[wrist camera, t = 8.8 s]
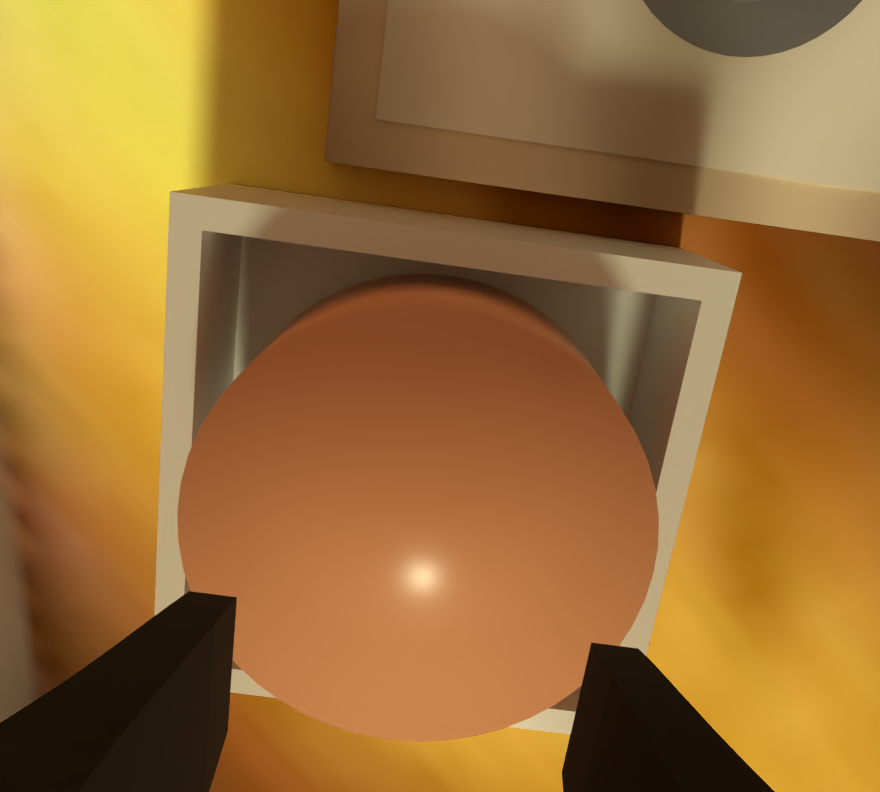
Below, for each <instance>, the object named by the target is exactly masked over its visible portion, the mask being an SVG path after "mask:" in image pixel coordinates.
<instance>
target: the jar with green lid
mask: <svg viewBox="0 0 880 792" xmlns="http://www.w3.org/2000/svg"><path fill="white" fill-rule="evenodd" d="M727 1H732V2H741V3H751V2H760V1H765V0H727Z"/></svg>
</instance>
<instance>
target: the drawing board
mask: <svg viewBox="0 0 880 792" xmlns="http://www.w3.org/2000/svg"><path fill="white" fill-rule="evenodd" d="M325 162H332V163H339V164H346V165H353V166H360V167H367V168H374V169H381V170H388V171H394V172H401V173H408V174H415V175H422V176H429V177H436V178H443V179H450V180H457V181H464V182H471V183H478V184H485V185H492V186H499V187H505V188H512V189H519V190H526V191H533V192H540V193H547V194H554V195H561V196H568V197H575V198H582V199H589V200H596V201H603V202H610V203H617V204H623V205H630V206H637V207H644V208H651V209H658V210H665V211H672V212H679V213H686V214H693V215H700V216H707V217H714V218H721V219H728V220H734V221H741V222H748V223H755V224H762V225H769V226H776V227H783V228H790V229H797V230H804V231H811V232H818V233H825V234H832V235H839V236H845V237H852V238H859V239H866V240H873V241H880V0H765V1H760V2H751V3H741V2H732V1H727V0H339V8H338V19H337V30H336V41H335V52H334V63H333V74H332V85H331V96H330V107H329V118H328V129H327V140H326V151H325Z"/></svg>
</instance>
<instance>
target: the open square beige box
mask: <svg viewBox="0 0 880 792" xmlns="http://www.w3.org/2000/svg"><path fill="white" fill-rule="evenodd" d="M407 274H437V275H450V276H456V277H460V278H465V279H470V280H475V281H479V282H482V283H485V284H487V285H490V286H493V287H496V288H499V289H502V290H504V291H506V292H508V293H510V294H512V295H514V296H516V297H518V298H520V299H522V300H524V301H526V302H528V303H529V304H530V305H532V306H533V307H535V308H536V309H538V310H539V311H541V312H542V313H544V314H545V315H546V316H548V317H549V318H550V319H551V320H553V321H554V322H555V323H556V324H557V325H558V326H559V327H560V328H561V329H562V330H563V331H565V332H566V333H567V334H568V335H569V336H570V338H571V339H572V340H573V341H574V342H575V344H576V345H577V346H578V347H579V348H580V350H581V351H582V352H583V353H584V354H585V356H586V357H587V359H588V360H589V362H590V363H591V365H592V366H593V368H594V369H595V371H596V372H597V374H598V375H599V377H600V378H601V380H602V381H603V383H604V384H605V386H606V387H607V389H608V390H609V391H610V393H611V394H612V396H613V397H614V399H615V400H616V402H617V403H618V405H619V406H620V408H621V410H622V411H623V413H624V414H625V416H626V418H627V419H628V421H629V422H630V424H631V426H632V427H633V429H634V431H635V432H636V435H637V437H638V439H639V441H640V444H641V446H642V448H643V451H644V453H645V455H646V457H647V460H648V463H649V467H650V471H651V474H652V478H653V482H654V485H655V490H656V498H657V506H658V514H659V531H658V549H657V555H656V561H655V567H654V573H653V576H652V579H651V583H650V586H649V589H648V592H647V595H646V598H645V601H644V603H643V605H642V607H641V609H640V611H639V613H638V615H637V618H636V620H635V622H634V624H633V626H632V627H631V629H630V630H629V632H628V633H627V635H626V636H625V638H624V639H623V641H622V642H621V644H620V645H619V646H623V647H631V648H638V649H639V650H640V651H641V652H642V653H643V654H644V655H645V656H646V653H647V649H648V645H649V641H650V637H651V633H652V629H653V626H654V622H655V618H656V614H657V610H658V606H659V602H660V598H661V594H662V590H663V586H664V582H665V578H666V574H667V570H668V566H669V562H670V558H671V554H672V550H673V546H674V542H675V538H676V534H677V530H678V526H679V522H680V518H681V514H682V510H683V506H684V502H685V498H686V494H687V490H688V486H689V482H690V478H691V474H692V470H693V466H694V462H695V458H696V454H697V450H698V446H699V442H700V438H701V435H702V431H703V427H704V423H705V419H706V415H707V411H708V407H709V403H710V399H711V395H712V391H713V387H714V383H715V379H716V375H717V371H718V367H719V363H720V359H721V355H722V351H723V347H724V343H725V339H726V335H727V331H728V327H729V323H730V319H731V315H732V311H733V307H734V303H735V299H736V295H737V291H738V287H739V283H740V279H741V275H742V273H741V272H739V271H736V270H734V269H731V268H729V267H726V266H724V265H721V264H719V263H716V262H714V261H711V260H709V259H706V258H704V257H701V256H699V255H696V254H694V253H692V252H689V251H687V250H684V249H682V248H677V247H670V246H663V245H656V244H649V243H642V242H635V241H628V240H621V239H614V238H607V237H600V236H593V235H586V234H579V233H572V232H565V231H558V230H551V229H544V228H537V227H530V226H523V225H516V224H509V223H502V222H495V221H488V220H481V219H474V218H467V217H460V216H453V215H446V214H439V213H432V212H425V211H418V210H411V209H404V208H397V207H390V206H383V205H376V204H369V203H362V202H355V201H348V200H341V199H334V198H327V197H320V196H313V195H306V194H299V193H292V192H285V191H278V190H271V189H264V188H257V187H250V186H243V185H236V184H224V185H216V186H209V187H201V188H194V189H186V190H178V191H171V192H170V204H169V232H168V259H167V287H166V315H165V342H164V370H163V397H162V425H161V452H160V480H159V508H158V535H157V563H156V590H155V615H157V614H158V613H159V612H161V611H162V610H163V609H165V608H166V607H168V606H169V605H170V604H172V603H173V602H175V601H176V600H177V599H179V598H180V597H182V596H183V595H184V594H186V593H187V592H189V591H190V588H189V585H188V582H187V579H186V576H185V573H184V570H183V566H182V560H181V554H180V548H179V542H178V519H177V510H178V501H179V493H180V484H181V480H182V476H183V472H184V469H185V465H186V461H187V458H188V454H189V452H190V450H191V447H192V445H193V443H194V440H195V438H196V436H197V434H198V431H199V429H200V427H201V425H202V424H203V422H204V420H205V419H206V417H207V416H208V414H209V412H210V411H211V409H212V408H213V406H214V404H215V403H216V401H217V400H218V399H219V398H220V397H221V395H222V394H223V393H224V392H225V391H226V389H227V388H228V387H229V386H230V385H231V384H232V382H233V381H234V380H235V379H236V378H237V377H238V376H239V374H240V373H241V372H242V371H243V370H244V369H245V368H246V367H247V366H248V365H249V364H250V363H251V362H252V361H253V360H254V359H255V358H256V357H257V356H258V355H259V354H260V353H261V352H262V350H263V349H264V348H265V347H266V346H267V345H268V344H269V343H270V342H271V341H272V340H273V339H274V338H275V337H276V336H277V335H278V334H279V333H280V332H281V331H282V330H283V329H284V328H285V327H286V326H287V325H289V324H290V323H291V322H292V321H293V320H294V319H295V318H296V317H298V316H299V315H300V314H301V313H303V312H304V311H306V310H307V309H309V308H310V307H312V306H313V305H315V304H316V303H318V302H319V301H321V300H323V299H325V298H327V297H329V296H331V295H333V294H335V293H337V292H339V291H341V290H343V289H345V288H348V287H351V286H354V285H357V284H360V283H363V282H366V281H369V280H374V279H379V278H384V277H389V276H395V275H407ZM580 691H581V686H580V687H579V688H578V689H577V690H575V691H574V692H573V693H571V694H570V695H568V696H567V697H565V698H564V699H562V700H561V701H560V702H558V703H557V704H555V705H554V706H552V707H550V708H548V709H546V710H544V711H542V712H540V713H539V714H537V715H535V716H533V717H531V718H529V719H526V720H524V721H521V722H519V723H516V724H514V725H511V726H509V727H515V728H523V729H531V730H539V731H547V732H555V733H563V734H571V730H572V726H573V721H574V717H575V713H576V708H577V704H578V699H579V695H580ZM230 692H233V693H241V694H249V695H257V696H265V697H273V698H276V697H275V696H273V695H272V694H271V693H269V692H268V691H266V690H265V689H264V688H262V687H261V686H260V685H258V684H257V683H256V682H255V681H254V680H253V679H252V678H251V677H249V676H248V675H247V674H246V673H245V672H244V671H243V670H242V669H241V668H240V667H239V666H238V665H237V664H236V663H235V662H234V661H233V660H232V674H231V689H230Z"/></svg>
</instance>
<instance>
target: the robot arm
mask: <svg viewBox="0 0 880 792" xmlns="http://www.w3.org/2000/svg"><path fill="white" fill-rule="evenodd" d="M236 604H237V597H231V596H223V595H215V594H208V593H200V592H192V591H189V592H187V593H186V594H184V595H183V596H182V597H180V598H179V599H177V600H176V601H175V602H173V603H172V604H170V605H169V606H168V607H166V608H165V609H163V610H162V611H161V612H159V613H158V614H157V615H155V616H154V617H153V618H151V619H150V620H149V621H147V622H146V623H145V624H143V625H142V626H141V627H139V628H138V629H137V630H135V631H134V632H133V633H131V634H130V635H129V636H127V637H126V638H125V639H123V640H122V641H121V642H119V643H118V644H117V645H115V646H114V647H112V648H111V649H110V650H108V651H107V652H106V653H104V654H103V655H101V656H100V657H98V658H97V659H96V660H94V661H93V662H91V663H90V664H89V665H87V666H86V667H84V668H83V669H82V670H80V671H79V672H77V673H76V674H75V675H73V676H72V677H70V678H69V679H67V680H66V681H65V682H63V683H62V684H60V685H59V686H57V687H56V688H54V689H52V690H51V691H49V692H48V693H46V694H45V695H43V696H42V697H40V698H38V699H37V700H35V701H34V702H32V703H31V704H29V705H28V706H26V707H24V708H23V709H21V710H20V711H18V712H17V713H15V714H14V715H12V716H11V717H9V718H8V719H6V720H4V721H3V722H1V723H0V792H209V790H210V787H211V783H212V780H213V777H214V774H215V771H216V767H217V764H218V761H219V758H220V754H221V751H222V748H223V744H224V741H225V738H226V734H227V731H228V717H229V703H230V689H231V674H232V660H233V646H234V632H235V618H236ZM562 778H563V791H564V792H774V791H773V790H772V789H771V788H770V787H769V786H768V785H767V784H766V783H765V782H764V781H763V780H762V779H761V778H760V777H759V776H758V775H757V774H756V773H755V772H754V771H753V770H752V769H751V768H750V767H749V766H748V765H747V764H746V763H745V762H744V761H743V760H742V758H741V757H740V756H739V755H738V754H737V753H736V752H735V751H734V750H733V749H732V748H731V747H730V746H729V745H728V744H727V743H726V742H725V741H724V740H723V739H722V738H721V737H720V736H719V734H718V733H717V732H716V731H715V730H714V729H713V728H712V727H711V726H710V725H709V724H708V723H707V722H706V721H705V719H704V718H703V717H702V716H701V715H700V714H699V713H698V712H697V711H696V710H695V709H694V707H693V706H692V705H691V704H690V703H689V702H688V701H687V700H686V699H685V698H684V697H683V695H682V694H681V693H680V692H679V691H678V690H677V689H676V688H675V687H674V686H673V684H672V683H671V682H670V681H669V680H668V679H667V678H666V677H665V676H664V675H663V674H662V672H661V671H660V670H659V669H658V668H657V667H656V666H655V665H654V664H653V663H652V662H651V661H650V660H649V659H648V658H647V657H646V656H645V655H644V654H643V653H642V652H641V651H640V650H639V649H638V648H631V647H623V646H615V645H607V644H599V643H591V646H590V651H589V655H588V660H587V664H586V668H585V673H584V677H583V682H582V686H581V691H580V695H579V699H578V704H577V708H576V713H575V717H574V721H573V726H572V730H571V735H570V739H569V744H568V748H567V752H566V757H565V761H564V766H563V770H562Z"/></svg>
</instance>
